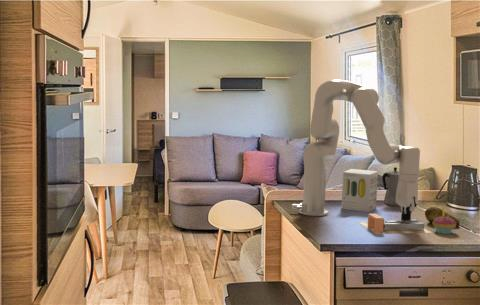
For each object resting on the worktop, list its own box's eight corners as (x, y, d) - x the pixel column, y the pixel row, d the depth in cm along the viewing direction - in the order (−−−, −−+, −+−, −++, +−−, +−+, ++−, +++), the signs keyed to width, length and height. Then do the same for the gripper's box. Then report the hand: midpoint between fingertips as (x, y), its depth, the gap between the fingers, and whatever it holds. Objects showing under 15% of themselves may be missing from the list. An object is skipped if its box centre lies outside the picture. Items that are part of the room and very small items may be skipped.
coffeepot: (394, 200, 275) (396, 165, 273) (409, 203, 268) (412, 167, 266) (373, 203, 267) (375, 167, 265) (388, 206, 259) (390, 169, 257)
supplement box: (340, 208, 251) (342, 171, 250) (349, 204, 263) (351, 168, 261) (368, 212, 245) (370, 174, 243) (376, 207, 257) (378, 171, 255)
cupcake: (428, 232, 212) (430, 201, 211) (448, 232, 213) (451, 202, 212) (437, 237, 204) (439, 206, 202) (459, 238, 204) (461, 206, 203)
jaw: (387, 229, 209) (387, 222, 209) (384, 228, 211) (384, 221, 211) (417, 227, 214) (417, 220, 214) (414, 226, 216) (414, 219, 216)
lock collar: (375, 232, 204) (376, 218, 204) (367, 227, 212) (368, 213, 211) (382, 232, 205) (383, 218, 204) (374, 227, 212) (375, 213, 212)
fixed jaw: (382, 231, 206) (383, 222, 206) (378, 228, 210) (379, 219, 210) (424, 230, 209) (424, 221, 209) (419, 228, 213) (419, 219, 213)
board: (375, 236, 203) (375, 233, 203) (357, 225, 221) (357, 222, 220) (432, 235, 207) (432, 232, 206) (410, 224, 224) (410, 221, 224)
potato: (451, 232, 212) (453, 212, 212) (421, 226, 222) (422, 207, 221) (461, 229, 218) (462, 209, 217) (430, 223, 227) (432, 204, 227)
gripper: (391, 174, 221) (388, 219, 223) (408, 180, 207) (405, 228, 209) (408, 174, 223) (405, 218, 225) (426, 180, 208) (423, 227, 210)
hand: (405, 223), depth 217 cm, fingers closed
